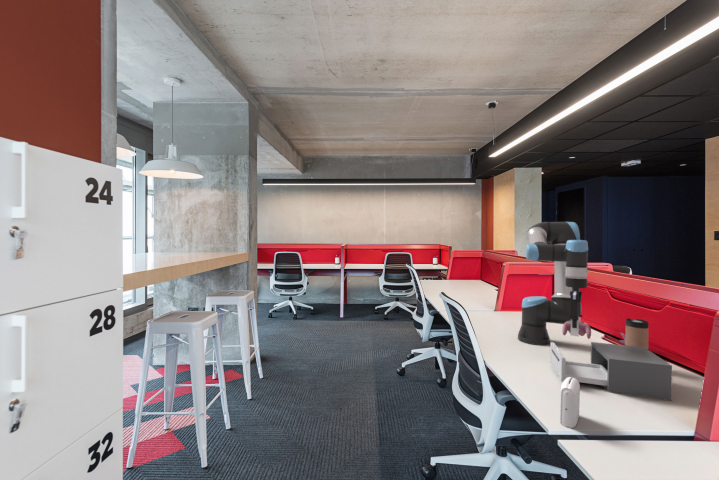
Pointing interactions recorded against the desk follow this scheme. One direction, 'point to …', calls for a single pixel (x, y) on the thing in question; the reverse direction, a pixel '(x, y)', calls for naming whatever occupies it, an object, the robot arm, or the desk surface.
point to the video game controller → (582, 326)
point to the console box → (633, 370)
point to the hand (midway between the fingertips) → (575, 334)
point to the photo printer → (569, 402)
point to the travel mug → (636, 333)
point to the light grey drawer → (577, 369)
